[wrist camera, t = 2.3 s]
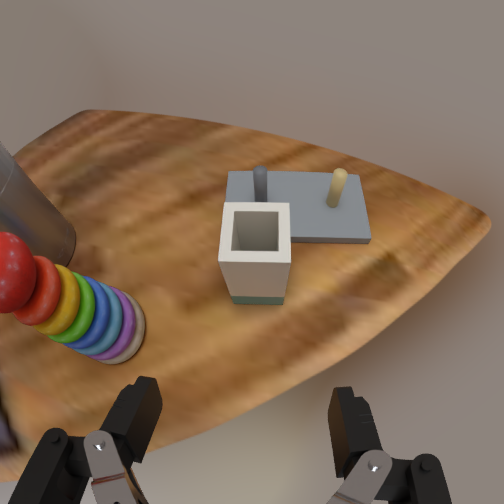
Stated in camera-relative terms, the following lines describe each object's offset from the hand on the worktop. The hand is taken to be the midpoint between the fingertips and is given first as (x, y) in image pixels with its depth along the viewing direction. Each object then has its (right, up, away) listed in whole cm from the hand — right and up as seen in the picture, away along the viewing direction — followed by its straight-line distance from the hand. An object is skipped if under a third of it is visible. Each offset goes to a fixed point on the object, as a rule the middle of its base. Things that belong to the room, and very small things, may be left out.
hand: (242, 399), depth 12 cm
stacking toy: (-14, -2, +16) cm, 21 cm away
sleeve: (+1, +4, +18) cm, 18 cm away
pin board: (+5, +12, +21) cm, 25 cm away
